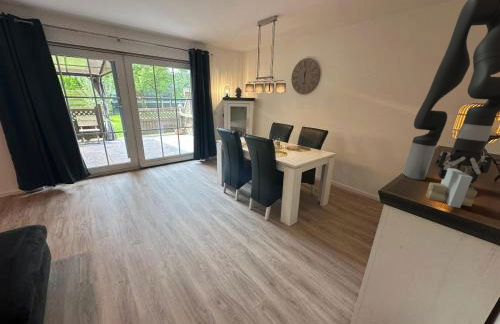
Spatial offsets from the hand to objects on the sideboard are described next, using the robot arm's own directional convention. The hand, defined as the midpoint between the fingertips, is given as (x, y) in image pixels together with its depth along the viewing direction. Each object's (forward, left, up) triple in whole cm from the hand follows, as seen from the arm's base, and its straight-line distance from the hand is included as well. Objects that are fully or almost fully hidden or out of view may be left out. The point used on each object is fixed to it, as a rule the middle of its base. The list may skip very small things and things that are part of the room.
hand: (455, 180), depth 76 cm
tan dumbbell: (0, 0, -9) cm, 9 cm away
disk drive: (-15, +9, -9) cm, 20 cm away
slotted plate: (0, 0, -9) cm, 9 cm away
